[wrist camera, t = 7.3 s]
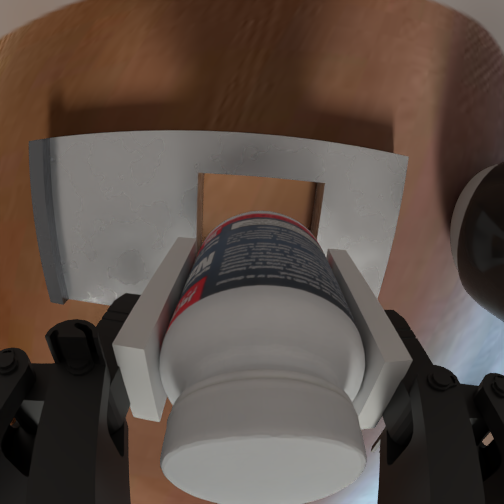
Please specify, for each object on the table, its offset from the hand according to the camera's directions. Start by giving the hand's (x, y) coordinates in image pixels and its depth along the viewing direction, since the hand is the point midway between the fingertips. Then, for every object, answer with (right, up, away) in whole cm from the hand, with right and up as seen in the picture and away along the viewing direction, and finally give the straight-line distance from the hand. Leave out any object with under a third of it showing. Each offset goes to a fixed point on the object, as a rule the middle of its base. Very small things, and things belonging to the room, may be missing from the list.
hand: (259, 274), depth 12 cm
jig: (-3, +3, +6) cm, 7 cm away
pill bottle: (0, 0, 0) cm, 0 cm away
